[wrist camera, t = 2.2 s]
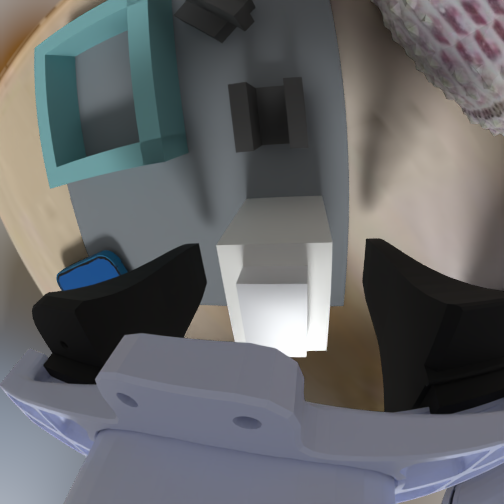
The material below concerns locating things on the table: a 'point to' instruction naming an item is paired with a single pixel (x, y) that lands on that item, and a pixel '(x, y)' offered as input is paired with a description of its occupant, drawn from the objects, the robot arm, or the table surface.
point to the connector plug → (279, 273)
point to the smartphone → (91, 271)
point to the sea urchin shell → (455, 50)
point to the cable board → (193, 122)
